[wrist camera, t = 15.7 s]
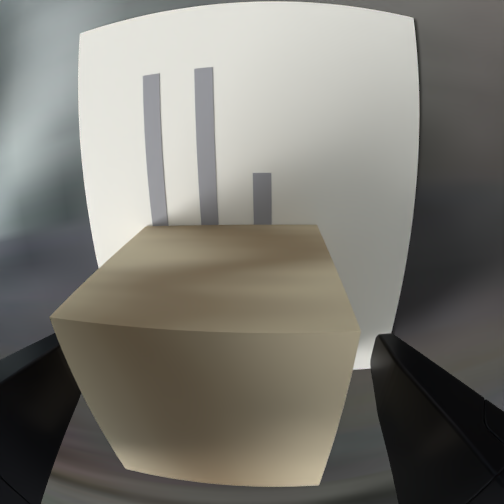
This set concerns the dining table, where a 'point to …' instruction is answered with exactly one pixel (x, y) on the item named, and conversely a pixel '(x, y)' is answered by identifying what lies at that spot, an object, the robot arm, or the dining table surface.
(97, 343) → the beech block
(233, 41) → the letter
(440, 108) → the dining table surface
